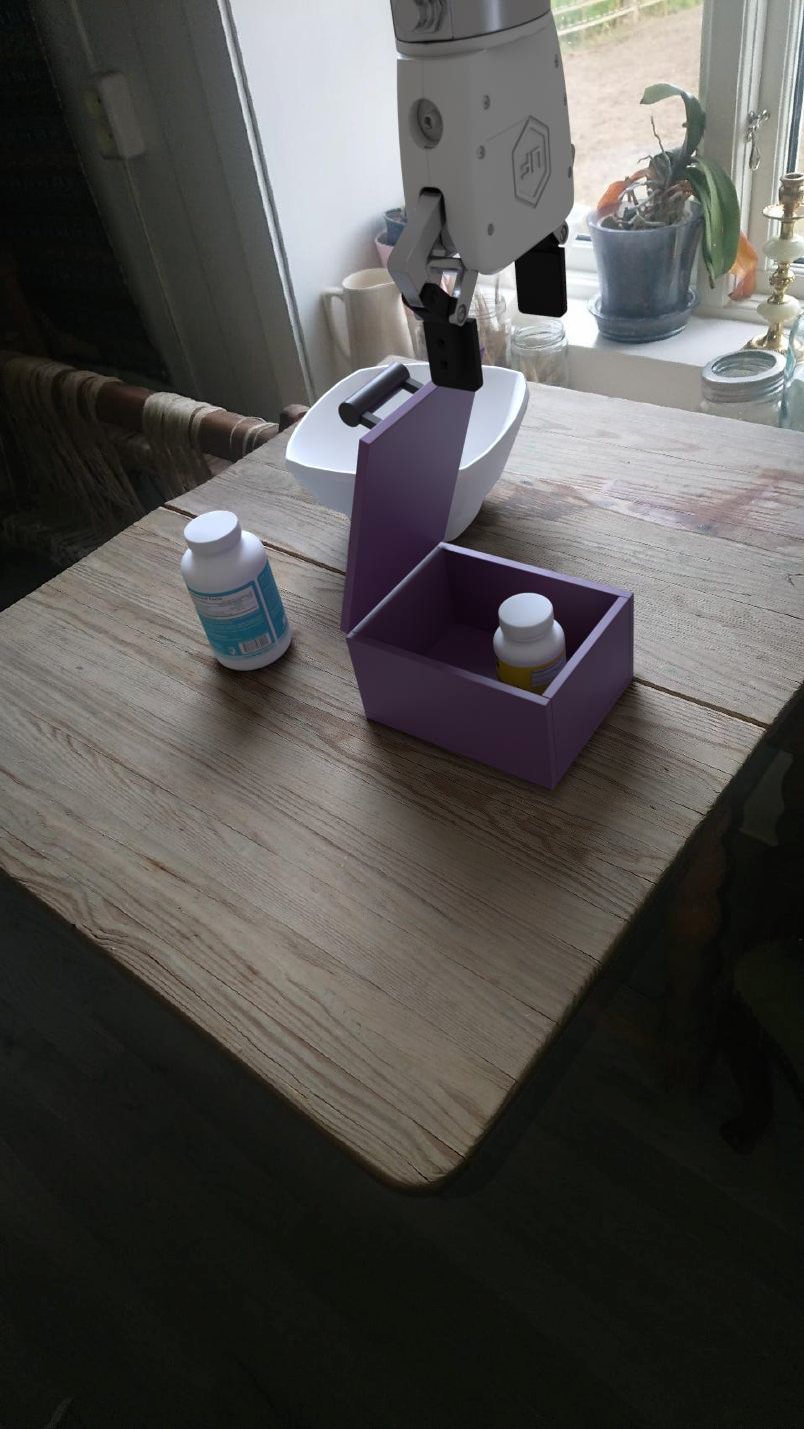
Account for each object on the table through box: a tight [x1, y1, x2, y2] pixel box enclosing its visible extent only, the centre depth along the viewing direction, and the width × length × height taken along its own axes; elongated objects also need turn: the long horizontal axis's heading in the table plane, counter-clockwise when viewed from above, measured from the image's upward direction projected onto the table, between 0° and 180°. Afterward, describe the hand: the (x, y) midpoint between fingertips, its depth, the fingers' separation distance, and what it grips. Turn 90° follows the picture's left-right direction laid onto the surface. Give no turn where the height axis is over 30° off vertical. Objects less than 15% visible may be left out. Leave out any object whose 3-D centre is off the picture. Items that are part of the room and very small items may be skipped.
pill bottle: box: [180, 510, 292, 671], centre depth 86 cm, size 8×7×14 cm
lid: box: [338, 344, 485, 636], centre depth 71 cm, size 18×14×5 cm
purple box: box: [345, 542, 635, 791], centre depth 77 cm, size 18×14×9 cm
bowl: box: [284, 362, 531, 543], centre depth 97 cm, size 22×22×12 cm
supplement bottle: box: [493, 593, 566, 696], centre depth 75 cm, size 5×5×10 cm
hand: (502, 348), depth 58 cm, fingers open, 9 cm apart
